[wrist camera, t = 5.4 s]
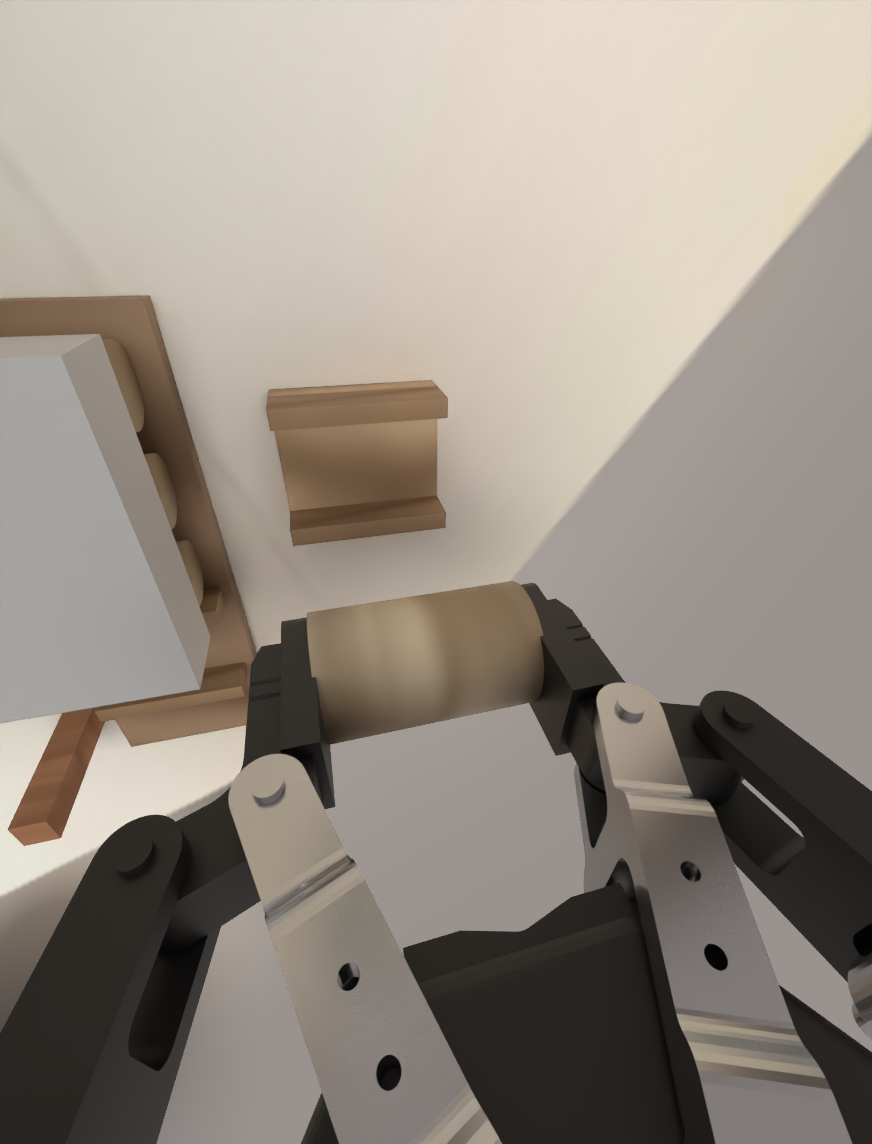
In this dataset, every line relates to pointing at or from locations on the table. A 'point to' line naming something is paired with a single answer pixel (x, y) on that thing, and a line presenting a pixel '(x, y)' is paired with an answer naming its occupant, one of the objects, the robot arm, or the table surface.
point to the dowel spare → (424, 659)
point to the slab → (84, 543)
